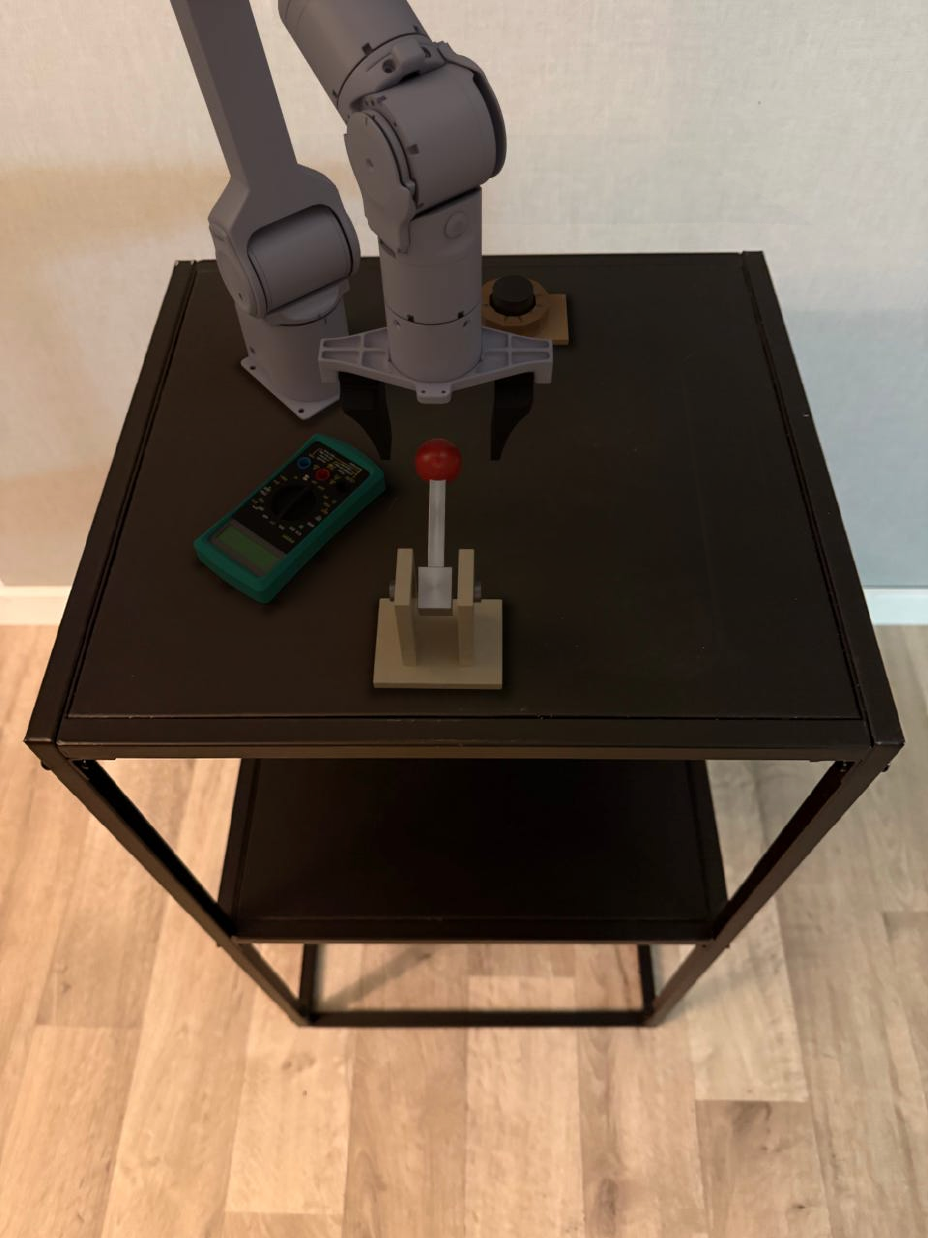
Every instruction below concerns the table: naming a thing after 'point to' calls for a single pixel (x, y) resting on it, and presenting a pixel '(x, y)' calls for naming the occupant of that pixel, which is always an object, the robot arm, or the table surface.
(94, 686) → the table surface
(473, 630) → the switch bracket
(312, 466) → the digital multimeter
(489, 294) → the button block
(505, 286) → the button
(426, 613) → the switch lever
